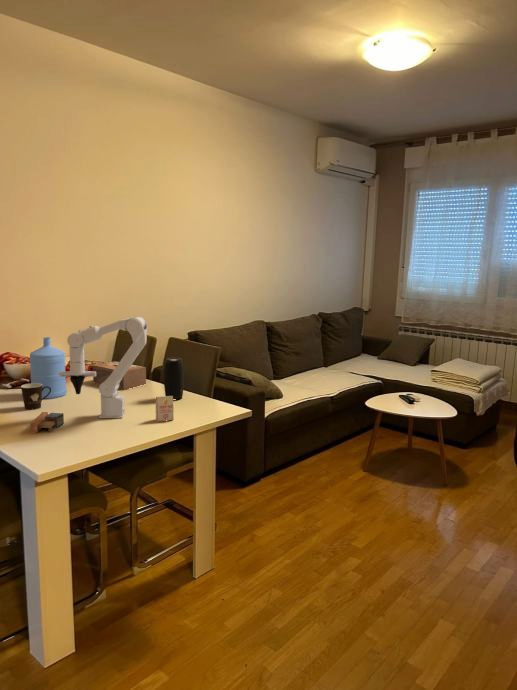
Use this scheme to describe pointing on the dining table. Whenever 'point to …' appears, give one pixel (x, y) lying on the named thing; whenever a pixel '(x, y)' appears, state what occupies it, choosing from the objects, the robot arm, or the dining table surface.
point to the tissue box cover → (129, 380)
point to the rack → (42, 423)
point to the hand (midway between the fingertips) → (78, 393)
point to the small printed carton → (164, 408)
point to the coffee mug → (33, 395)
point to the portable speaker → (174, 377)
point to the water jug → (48, 369)
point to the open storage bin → (56, 419)
